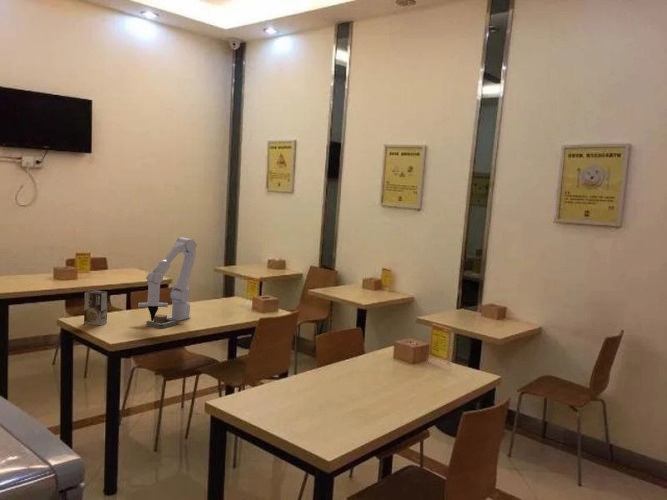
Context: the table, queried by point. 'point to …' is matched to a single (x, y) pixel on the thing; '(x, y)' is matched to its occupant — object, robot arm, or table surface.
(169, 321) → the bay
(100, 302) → the coffee box
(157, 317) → the walnut block
